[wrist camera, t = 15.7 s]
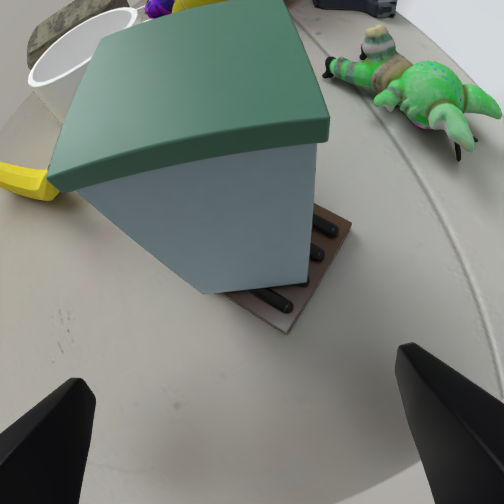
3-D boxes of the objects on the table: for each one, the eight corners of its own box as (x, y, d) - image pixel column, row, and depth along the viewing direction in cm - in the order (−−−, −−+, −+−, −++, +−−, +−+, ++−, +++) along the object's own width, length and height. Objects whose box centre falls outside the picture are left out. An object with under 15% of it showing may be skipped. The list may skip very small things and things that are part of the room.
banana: (5, 170, 29) (-27, 144, 23) (103, 190, 24) (62, 147, 18) (-6, 191, 28) (-39, 166, 22) (89, 220, 24) (42, 182, 18)
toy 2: (312, 100, 27) (451, 191, 19) (302, 31, 20) (478, 113, 13) (378, 64, 28) (498, 134, 20) (376, 6, 21) (519, 70, 14)
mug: (73, 169, 26) (9, 102, 16) (103, 96, 29) (61, 30, 19) (195, 152, 24) (146, 50, 14) (210, 75, 27) (182, -12, 18)
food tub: (310, 285, 17) (331, 117, 5) (199, 298, 18) (44, 179, 6) (295, 187, 20) (280, -8, 8) (197, 201, 20) (101, 37, 8)
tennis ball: (213, 55, 30) (233, 27, 32) (227, 9, 24) (248, -14, 26) (159, 39, 29) (184, 12, 31) (164, -7, 22) (193, -29, 25)
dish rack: (350, 229, 20) (354, 217, 18) (286, 335, 18) (286, 332, 17) (227, 167, 23) (222, 153, 21) (162, 254, 21) (152, 245, 20)
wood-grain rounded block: (160, 66, 30) (127, 10, 38) (133, 3, 21) (110, -28, 30) (53, 130, 29) (55, 52, 38) (10, 82, 21) (32, 18, 29)
